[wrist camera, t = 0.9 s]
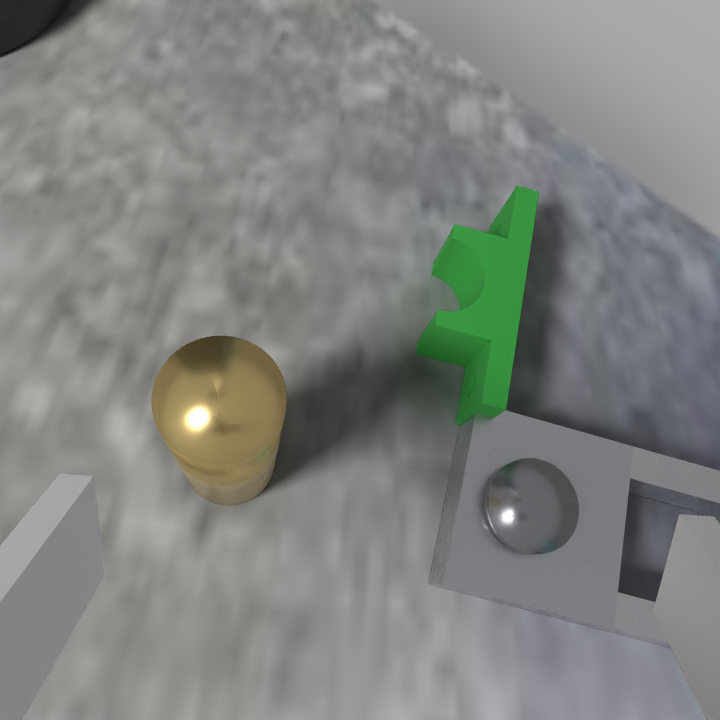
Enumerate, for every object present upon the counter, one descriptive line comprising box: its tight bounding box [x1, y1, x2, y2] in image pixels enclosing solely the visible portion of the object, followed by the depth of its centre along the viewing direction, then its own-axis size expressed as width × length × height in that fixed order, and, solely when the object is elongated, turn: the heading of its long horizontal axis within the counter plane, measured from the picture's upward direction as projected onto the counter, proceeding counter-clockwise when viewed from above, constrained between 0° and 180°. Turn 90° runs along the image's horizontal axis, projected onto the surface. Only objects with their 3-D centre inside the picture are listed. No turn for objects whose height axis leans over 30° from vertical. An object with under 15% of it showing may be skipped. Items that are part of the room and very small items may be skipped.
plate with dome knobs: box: [429, 410, 720, 648], centre depth 31 cm, size 8×20×3 cm, turn 76°
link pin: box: [152, 336, 287, 505], centre depth 26 cm, size 4×4×11 cm
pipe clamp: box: [415, 186, 539, 425], centre depth 33 cm, size 11×4×5 cm, turn 167°
